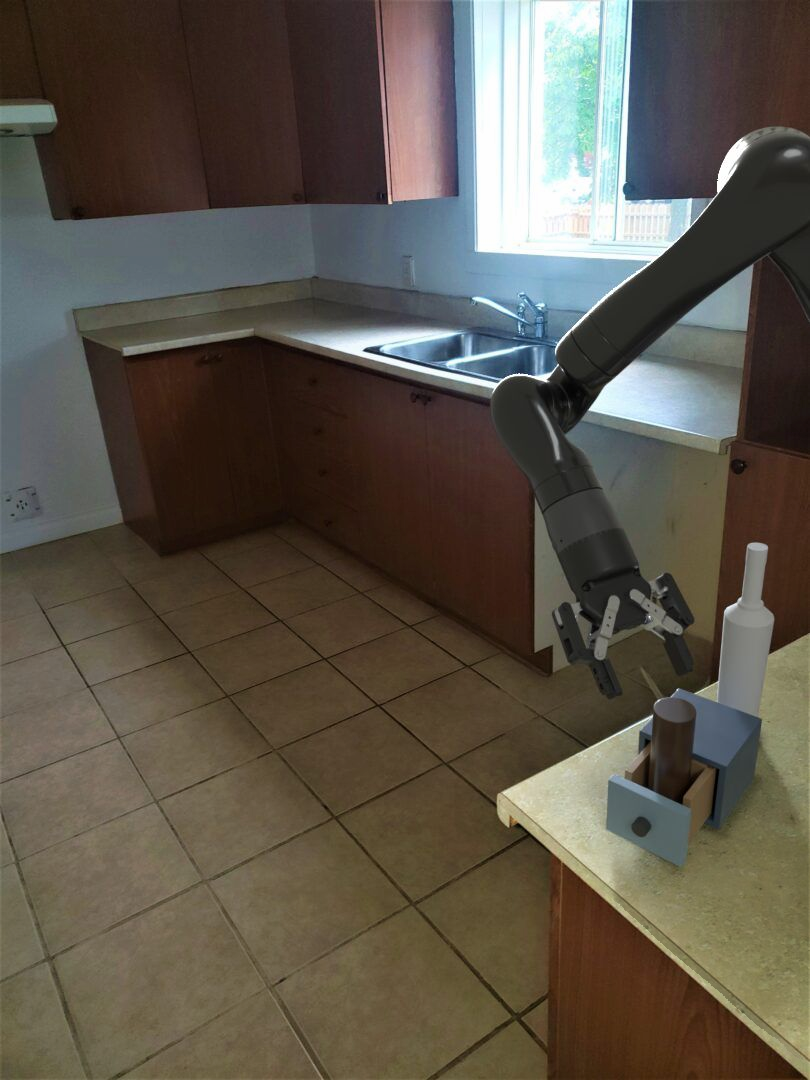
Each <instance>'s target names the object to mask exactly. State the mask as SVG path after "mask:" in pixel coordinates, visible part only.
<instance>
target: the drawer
mask: <svg viewBox="0 0 810 1080" xmlns="http://www.w3.org/2000/svg"><path fill="white" fill-rule="evenodd" d="M650 751H651V742H650V743H649V744H648V745H647V746H646V747H645V748H644V750H643V751H642V752H641V753H640V754H639V755H638V754H637V756H636V757H635V758H634V760H632V762H631V763H630V764H629V765H628V766H627V768H625V770H624V777H622V776H620V775H618V774H616V773H613V774H612V775H611V776H610V777H609V779H608V780H607V801H606V825H605V830H607V831H609V832H610V833H613V834H615V835H616V836H618V837H620V838H622V839H624V840H626V841H628V842H630V843H631V844H634V845H636V846H637V847H640V848H641V849H644V850H646V851H648V852H649V853H652V854H653V855H656V856H657V857H659V858H661V859H663V860H665V861H667V862H669V863H671V864H672V865H675V866H677V867H679V868H682V867H683V866H684V865H685V863H686V861H687V858H688V847H689V845H690V844H691V842H692V841H693V839H694V838H695V837H696V835H697V834H698V832H699V831H700V829H702V827H703V825H704V824H705V821H706V820H707V818H708V817H709V816H710V814H711V812H712V802H713V794H714V785H715V776H716V768H715V767H713V766H710V765H708V764H705V763H703V762H701V761H698V760H696V759H693V758H692V766H691V776H690V786H689V790H688V791H687V793H686V794H685V795H684V797H683V805H681V804H679V803H677V802H675V801H672V800H670V799H668V798H666V797H664V796H662V795H659V794H657V793H655V792H653V791H651V790H649V789H648V780H649V766H650Z"/></svg>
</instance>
